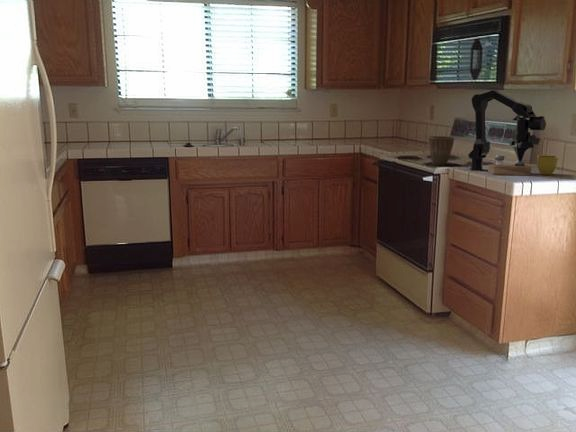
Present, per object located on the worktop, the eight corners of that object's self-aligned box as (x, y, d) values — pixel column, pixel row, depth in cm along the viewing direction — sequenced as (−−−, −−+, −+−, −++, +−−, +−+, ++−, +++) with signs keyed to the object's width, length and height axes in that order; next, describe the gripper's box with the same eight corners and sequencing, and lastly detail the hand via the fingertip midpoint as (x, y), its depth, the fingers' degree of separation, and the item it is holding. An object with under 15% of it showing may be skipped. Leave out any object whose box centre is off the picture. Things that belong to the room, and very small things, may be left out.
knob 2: (513, 172, 278) (514, 160, 277) (522, 172, 278) (523, 160, 276) (515, 173, 274) (516, 161, 273) (525, 173, 273) (526, 161, 272)
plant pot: (458, 165, 316) (459, 137, 313) (435, 166, 312) (437, 137, 308) (443, 162, 330) (444, 136, 327) (421, 163, 326) (423, 136, 322)
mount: (487, 172, 282) (488, 164, 281) (524, 172, 280) (524, 164, 279) (493, 174, 272) (493, 166, 271) (530, 175, 270) (531, 167, 270)
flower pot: (556, 175, 269) (557, 157, 267) (536, 174, 272) (538, 156, 270) (554, 173, 277) (556, 155, 275) (535, 172, 280) (537, 155, 278)
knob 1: (493, 166, 278) (494, 155, 277) (502, 166, 278) (503, 155, 277) (495, 167, 274) (496, 156, 273) (504, 167, 274) (505, 156, 273)
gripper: (546, 130, 262) (543, 163, 265) (533, 129, 280) (530, 159, 283) (522, 130, 263) (519, 163, 266) (510, 129, 281) (508, 159, 284)
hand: (520, 161), depth 275 cm, fingers closed, pressing on knob 2
